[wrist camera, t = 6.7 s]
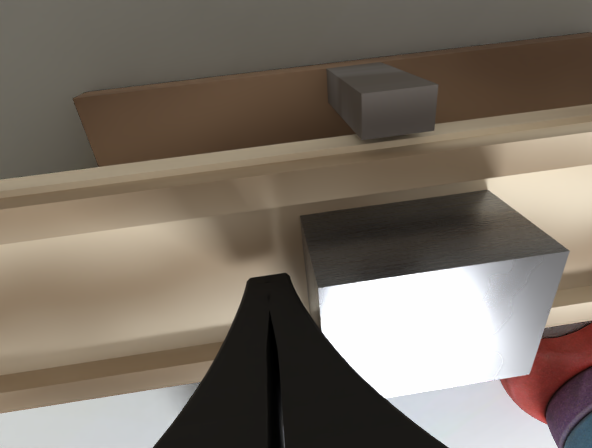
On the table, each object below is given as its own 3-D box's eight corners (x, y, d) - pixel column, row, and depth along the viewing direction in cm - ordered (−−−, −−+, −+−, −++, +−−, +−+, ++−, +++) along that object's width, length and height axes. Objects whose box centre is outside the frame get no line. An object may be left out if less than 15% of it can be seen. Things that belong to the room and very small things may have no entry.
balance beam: (737, 266, 16) (788, 293, 15) (-21, 381, 15) (-53, 425, 13) (858, 70, 12) (945, 78, 11) (-165, 200, 11) (-234, 232, 9)
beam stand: (529, 255, 21) (624, 336, 16) (164, 309, 20) (134, 416, 15) (588, 32, 15) (764, 43, 10) (85, 92, 14) (-7, 139, 9)
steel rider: (469, 296, 14) (529, 374, 11) (310, 320, 14) (328, 407, 11) (487, 189, 12) (569, 250, 9) (299, 215, 12) (317, 288, 9)
